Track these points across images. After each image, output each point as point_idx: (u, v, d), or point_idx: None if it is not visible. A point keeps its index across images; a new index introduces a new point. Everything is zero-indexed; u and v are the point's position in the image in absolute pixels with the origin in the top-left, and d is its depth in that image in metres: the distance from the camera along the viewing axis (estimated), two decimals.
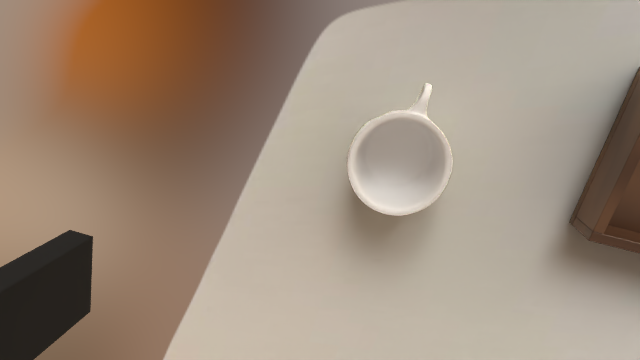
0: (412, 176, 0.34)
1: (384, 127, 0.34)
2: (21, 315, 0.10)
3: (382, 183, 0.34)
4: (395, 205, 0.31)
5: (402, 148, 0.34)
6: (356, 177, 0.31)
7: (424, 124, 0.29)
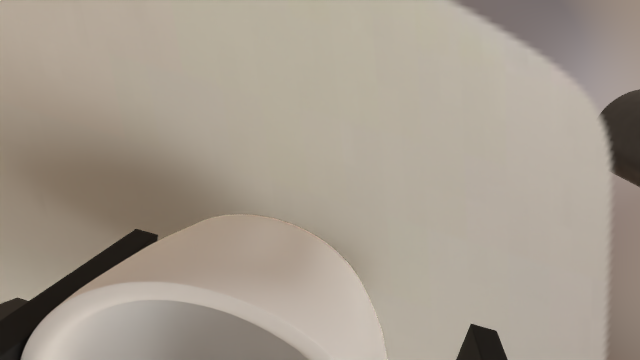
0: (203, 343, 0.13)
1: None
2: None
3: None
4: None
5: None
6: None
7: None
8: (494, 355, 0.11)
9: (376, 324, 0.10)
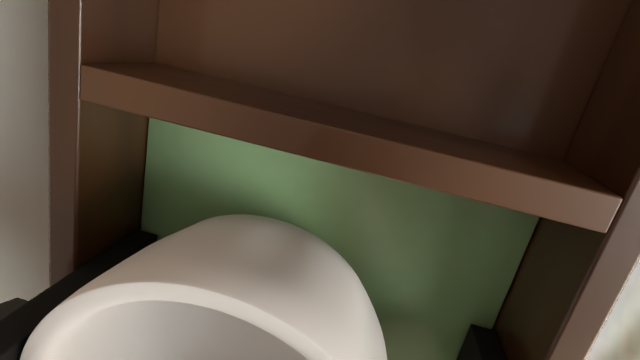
0: (203, 343, 0.13)
1: None
2: None
3: None
4: None
5: None
6: None
7: None
8: (494, 355, 0.11)
9: (376, 325, 0.10)
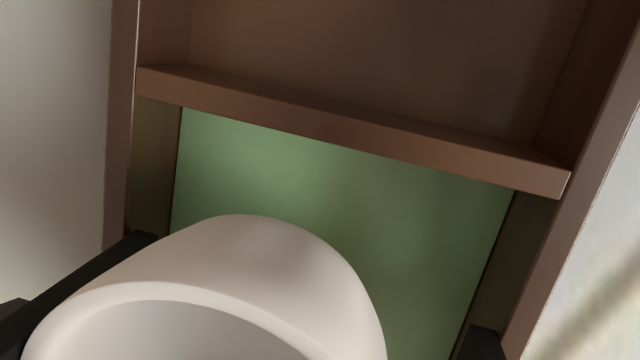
0: (203, 343, 0.13)
1: None
2: None
3: None
4: None
5: None
6: None
7: None
8: (493, 354, 0.11)
9: (376, 324, 0.10)
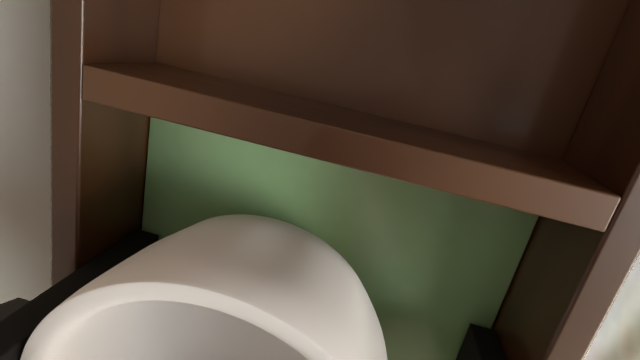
0: (203, 343, 0.13)
1: None
2: None
3: None
4: None
5: None
6: None
7: None
8: (493, 354, 0.11)
9: (376, 324, 0.10)
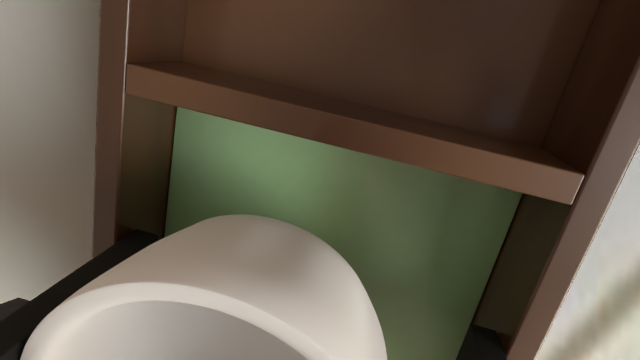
0: (203, 343, 0.13)
1: None
2: None
3: None
4: None
5: None
6: None
7: None
8: (493, 354, 0.11)
9: (376, 325, 0.10)
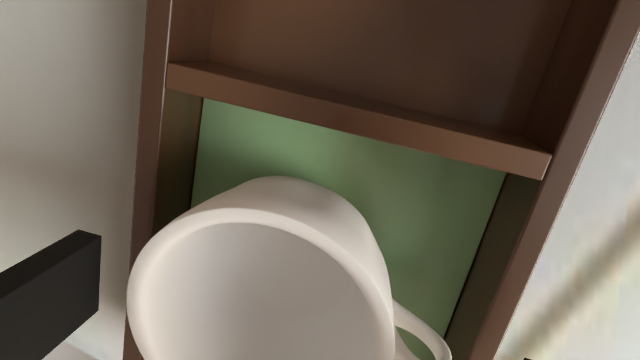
0: (243, 283, 0.16)
1: None
2: (33, 313, 0.10)
3: (219, 230, 0.15)
4: (158, 306, 0.13)
5: (300, 263, 0.16)
6: None
7: None
8: None
9: (381, 256, 0.13)
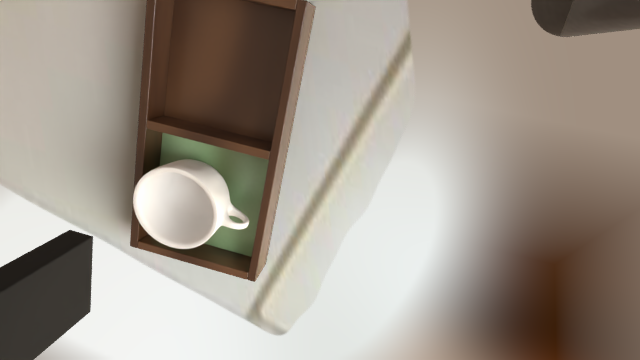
0: (180, 204, 0.40)
1: None
2: (21, 315, 0.10)
3: (169, 181, 0.39)
4: (144, 204, 0.36)
5: (202, 195, 0.40)
6: (160, 173, 0.35)
7: (210, 228, 0.35)
8: None
9: (224, 187, 0.37)
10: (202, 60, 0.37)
